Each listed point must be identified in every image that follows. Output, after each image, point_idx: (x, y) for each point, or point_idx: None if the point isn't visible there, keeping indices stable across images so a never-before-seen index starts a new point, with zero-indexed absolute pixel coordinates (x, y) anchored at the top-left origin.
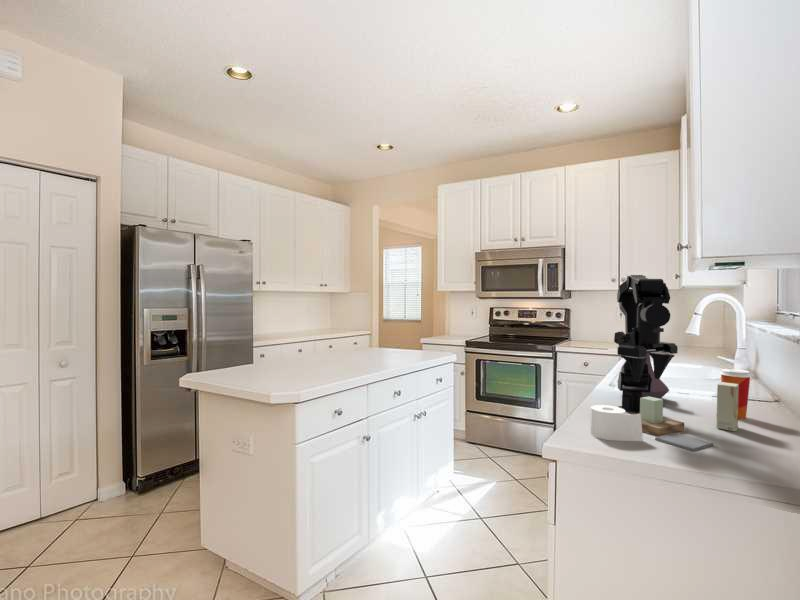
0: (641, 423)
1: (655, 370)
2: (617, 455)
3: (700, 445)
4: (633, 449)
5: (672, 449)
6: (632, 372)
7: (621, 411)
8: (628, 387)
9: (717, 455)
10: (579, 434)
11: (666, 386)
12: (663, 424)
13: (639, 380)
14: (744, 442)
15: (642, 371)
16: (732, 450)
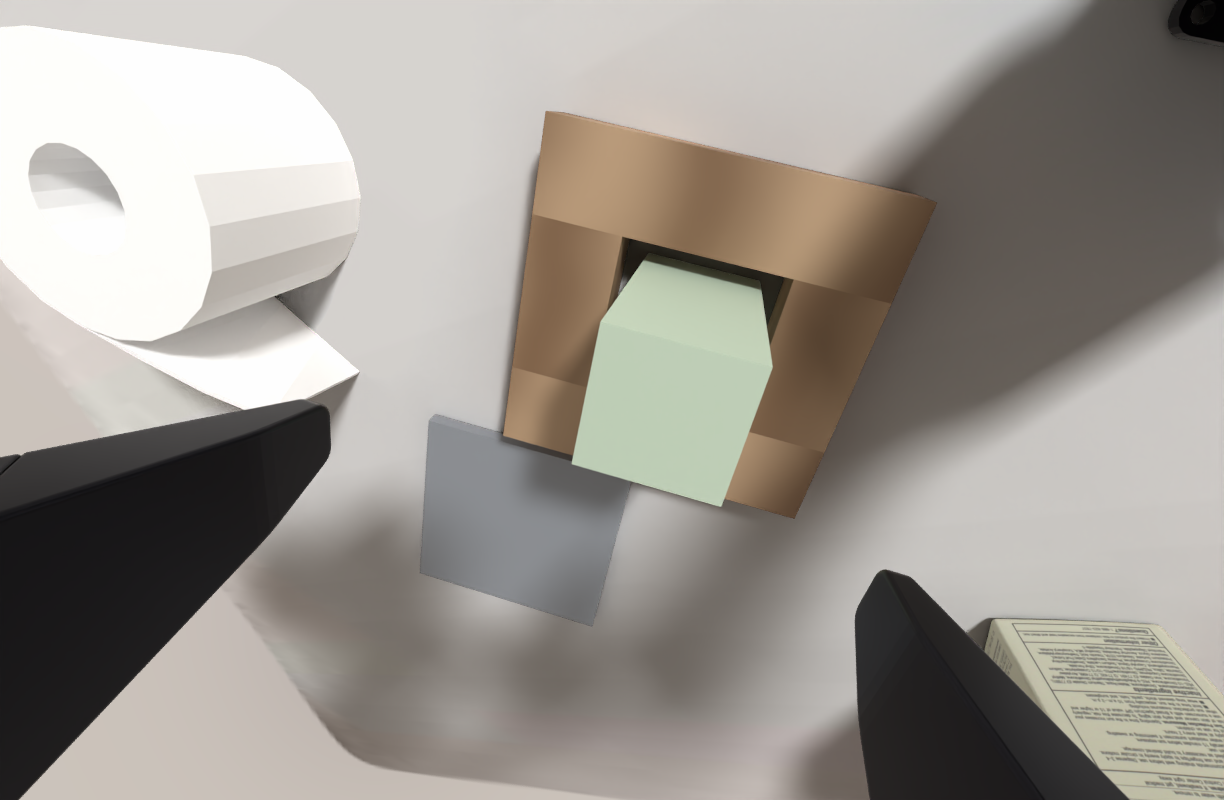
0: (522, 318)
1: (936, 709)
2: (75, 357)
3: (495, 591)
4: None
5: (369, 502)
6: (120, 450)
7: (129, 319)
8: None
9: (461, 633)
10: (99, 33)
11: None
12: None
13: (306, 477)
14: (766, 706)
15: (157, 640)
16: (583, 670)
